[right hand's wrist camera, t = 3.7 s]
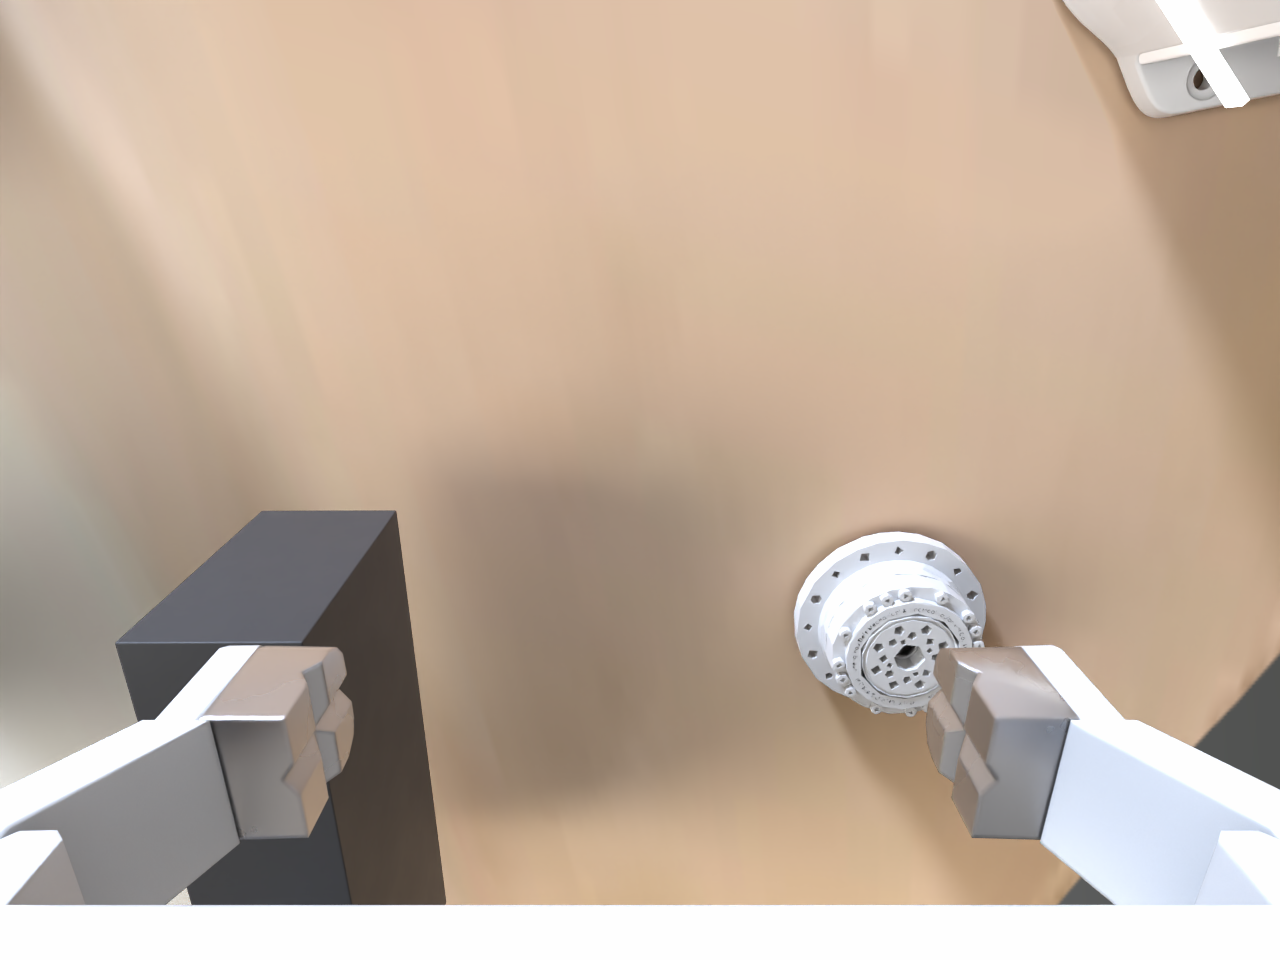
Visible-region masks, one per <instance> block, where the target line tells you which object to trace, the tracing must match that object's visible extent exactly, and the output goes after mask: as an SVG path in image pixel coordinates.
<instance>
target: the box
mask: <svg viewBox="0 0 1280 960" xmlns="http://www.w3.org/2000/svg"><path fill="white" fill-rule="evenodd" d="M115 645H116V648H117V652H118V655H119V658H120V662H121V665H122V669H123V672H124V675H125V679H126V682H127V686H128V689H129V692H130V696H131V699H132V703H133V706H134V709H135V713H136V716H137V720H138V722H140V721H142V720H155V719H156V718H157V717H158V716H159V715H160V714H161V713H162V711H163V710H164V709H165V708H166V707H167V706H168V705H169V704H170V703H171V701H172V700H173V699H174V698H175V697H176V696H177V695H178V694H179V693H180V691H181V690H182V689H183V688H184V687H185V686H186V685H187V684H188V683H189V681H190V680H191V679H192V678H193V677H194V676H195V675H196V674H197V673H198V671H199V670H200V669H201V668H202V667H203V666H204V665H205V664H206V663H207V661H208V660H209V659H210V658H211V657H212V656H213V655H214V654H215V653H216V651H217V650H218V649H219V648H222V647H226V646H238V645H260V646H308V647H337V648H338V649H339V650H340V651H341V652H342V653H343V657H344V662H345V666H346V671H347V675H346V677H345V679H344V680H343V682H342V684H341V686H340V687H339V689H340V690H341V691H342V692H343V693H344V694H345V695H346V696H347V697H348V698H349V699H350V700H351V701H352V707H353V714H354V736H353V740H352V745H351V749H350V754H349V757H348V759H347V761H346V764H345V766H344V768H343V770H342V772H341V773H340V774H338V775H337V776H335V777H334V778H332V779H331V780H329V781H328V782H327V783H326V785H327V791H328V796H329V798H328V800H327V802H326V804H325V806H324V808H323V810H322V812H321V814H320V816H319V818H318V820H317V822H316V824H315V826H314V828H313V830H312V831H311V833H310V835H309V837H308V838H281V839H246V840H239V841H240V844H238V845H237V846H236V847H235V848H234V849H232V850H231V851H230V852H229V853H227V854H226V855H225V856H224V857H223V858H221V859H220V860H219V861H218V862H217V863H215V864H214V865H213V866H212V867H211V868H209V869H208V870H207V871H206V872H204V873H203V874H202V875H201V876H200V877H198V878H197V879H196V880H195V881H194V882H192V883H191V884H190V885H189V886H188V887H187V890H188V893H189V897H190V900H191V904H192V905H445V904H446V897H445V889H444V881H443V873H442V865H441V858H440V850H439V842H438V834H437V826H436V818H435V811H434V803H433V795H432V787H431V779H430V771H429V763H428V756H427V748H426V740H425V732H424V724H423V716H422V709H421V701H420V693H419V685H418V677H417V669H416V662H415V654H414V646H413V638H412V630H411V622H410V615H409V607H408V599H407V591H406V583H405V575H404V568H403V560H402V552H401V544H400V536H399V528H398V521H397V513H396V511H261V512H260V513H259V514H258V515H257V516H256V517H255V518H254V519H253V520H251V521H250V522H249V523H248V524H247V525H246V526H245V527H244V528H243V529H241V530H240V531H239V532H238V533H237V534H236V535H235V536H234V537H232V538H231V539H230V540H229V541H228V542H227V543H226V544H225V545H224V546H222V547H221V548H220V549H219V550H218V551H217V552H216V553H215V554H214V555H212V556H211V557H210V558H209V559H208V560H207V561H206V562H205V563H204V564H202V565H201V566H200V567H199V568H198V569H197V570H196V571H195V572H194V573H192V574H191V575H190V576H189V577H188V578H187V579H186V580H185V581H184V582H182V583H181V584H180V585H179V586H178V587H177V588H176V589H175V590H174V591H172V592H171V593H170V594H169V595H168V596H167V597H166V598H165V599H164V600H162V601H161V602H160V603H159V604H158V605H157V606H156V607H155V608H154V609H152V610H151V611H150V612H149V613H148V614H147V615H146V616H145V617H143V618H142V619H141V620H140V621H139V622H138V623H137V624H136V625H135V626H133V627H132V628H131V629H130V630H129V631H128V632H127V633H126V634H125V635H123V636H122V637H121V638H120V639H119V640H118V641H117V642H116V643H115Z"/></svg>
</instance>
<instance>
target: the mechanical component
mask: <svg viewBox="0 0 1280 960" xmlns="http://www.w3.org/2000/svg"><path fill="white" fill-rule="evenodd" d="M985 622H986V603H985V599H984V596H983V592H982V588H981V584H980V583H979V581H978V580H977V579H976V577H975V576H974V574H973V573H972V571H971V570H970V569H969V567H968V566H967V564H966V563H965V562H964V561H963V560H962V559H961V557H960V556H959V555H957V554H956V553H955V552H954V551H952V550H951V549H950V548H948V547H947V546H946V545H944V544H943V543H941V542H939V541H936V540H933V539H931V538H928V537H925V536H923V535H920V534H913V533H905V532H886V533H877V534H873V535H869V536H865V537H861V538H859V539H857V540H855V541H853V542H851V543H848V544H846V545H844V546H842V547H840V548H838V549H836V550H835V551H834V552H833V553H831V554H830V555H829V556H828V557H826V558H825V559H824V560H823V561H822V562H820V563H819V564H818V565H817V566H816V568H815V569H814V570H813V571H812V573H811V574H810V575H809V576H808V578H807V579H806V581H805V583H804V585H803V587H802V589H801V591H800V593H799V595H798V598H797V602H796V607H795V611H794V624H795V638H796V641H797V644H798V647H799V650H800V652H801V655H802V658H803V659H804V661H805V662H806V664H807V665H808V667H809V668H810V670H811V671H812V673H813V674H814V676H815V677H816V678H817V679H818V680H819V681H821V682H822V683H823V684H825V685H826V686H827V687H829V688H830V689H832V690H833V691H835V692H837V693H840V694H842V695H844V696H846V697H849V698H851V699H852V700H853V701H855V702H857V703H858V704H860V705H862V706H864V707H867V708H870V710H871V712H873V713H874V714H879V713H880V712H885V713H888V714H892V713H905V714H906V716H909V717H912V716H914V715H916V712H917V711H920V710H923V711H924V712H927V708H928V701H929V700H930V699H931V698H932V697H933V696H934V695H935V694H936V693H937V692H938V691H939V690H940V689H941V687H940V686H939V684H938V682H937V680H936V679H935V677H934V675H933V671H934V665H935V660H936V657H937V655H938V653H939V651H940V649H941V648H976V647H985V646H984V643H983V641H982V634H983V630H984V626H985Z"/></svg>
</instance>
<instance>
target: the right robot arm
mask: <svg viewBox="0 0 1280 960" xmlns="http://www.w3.org/2000/svg"><path fill="white" fill-rule="evenodd" d="M1063 2H1064V3H1065V5H1066V6H1067V7H1068V9H1069V10H1070V11H1071V12H1072V14H1073V15H1074V16H1075V17H1076V18H1077V19H1078V20H1079V21H1080V22H1081V23H1082V24H1083V25H1084V26H1085V27H1086V28H1087V29H1088V30H1089V31H1091V32H1092V33H1093V34H1094V35H1095V36H1096V37H1097V38H1099V39H1100V40H1101V41H1102V42H1103V43H1104V44H1105V45H1106V46H1107V47H1108V48H1109V49H1110V50H1111V52H1112V53H1113V54H1114V56H1115V57H1116V58H1117V61H1118V64H1119V67H1120V69H1121V72H1122V75H1123V78H1124V80H1125V83H1126V86H1127V88H1128V90H1129V93H1130V95H1131V97H1132V99H1133V101H1134V102H1135V104H1136V106H1137V107H1138V108H1139V110H1140V111H1141V112H1142V113H1143V114H1145V115H1147V116H1149V117H1152V118H1165V117H1171V116H1175V115H1180V114H1185V113H1190V112H1195V111H1200V110H1205V109H1210V108H1215V107H1220V106H1225V108H1229V107H1238V106H1243V105H1244V104H1245V103H1246V102H1248V101H1249V100H1254V99H1259V98H1264V97H1268V96H1273V95H1278V94H1280V0H1063ZM1198 70H1200V71H1201V72H1202V74H1203V81H1202V84H1201V85H1200V87H1199V88H1198V89H1197V88H1196V87H1195V86H1194V82H1193V80H1194V76H1195V74H1196V72H1197V71H1198ZM346 675H347V671H346V666H345V662H344V657H343V653H342V652H341V651H340V650H339V649H338V648H337V647H308V646H260V645H238V646H226V647H222V648H219V649H218V650H217V651H216V653H215V654H214V655H213V656H212V657H211V658H210V659H209V660H208V661H207V663H206V664H205V665H204V666H203V667H202V668H201V669H200V670H199V671H198V673H197V674H196V675H195V676H194V677H193V678H192V679H191V680H190V681H189V683H188V684H187V685H186V686H185V687H184V688H183V689H182V690H181V691H180V693H179V694H178V695H177V696H176V697H175V698H174V699H173V700H172V701H171V703H170V704H169V705H168V706H167V707H166V708H165V709H164V710H163V711H162V713H161V714H160V715H159V716H158V717H157V718H156V719H155V720H142V721H140V722H138V723H136V724H134V725H132V726H130V727H128V728H126V729H123V730H121V731H119V732H117V733H115V734H113V735H111V736H109V737H107V738H105V739H103V740H101V741H99V742H97V743H95V744H93V745H91V746H89V747H87V748H85V749H83V750H80V751H78V752H76V753H74V754H72V755H70V756H68V757H66V758H64V759H62V760H60V761H58V762H56V763H54V764H52V765H50V766H48V767H46V768H44V769H42V770H40V771H37V772H35V773H33V774H31V775H29V776H27V777H25V778H23V779H21V780H19V781H17V782H15V783H13V784H11V785H9V786H7V787H5V788H3V789H1V790H0V960H1280V790H1279V789H1277V788H1275V787H1273V786H1271V785H1269V784H1267V783H1265V782H1263V781H1261V780H1259V779H1257V778H1254V777H1252V776H1250V775H1248V774H1246V773H1244V772H1242V771H1240V770H1238V769H1236V768H1234V767H1232V766H1230V765H1228V764H1226V763H1224V762H1222V761H1220V760H1218V759H1216V758H1214V757H1212V756H1210V755H1208V754H1205V753H1203V752H1201V751H1199V750H1197V749H1195V748H1193V747H1191V746H1189V745H1187V744H1185V743H1183V742H1181V741H1179V740H1177V739H1175V738H1173V737H1171V736H1169V735H1167V734H1165V733H1163V732H1161V731H1159V730H1156V729H1154V728H1152V727H1150V726H1148V725H1146V724H1144V723H1142V722H1140V721H1138V720H1125V719H1124V718H1123V717H1122V716H1121V715H1120V714H1119V713H1118V712H1117V710H1116V709H1115V708H1114V707H1113V706H1112V705H1111V704H1110V703H1109V702H1108V700H1107V699H1106V698H1105V697H1104V696H1103V695H1102V694H1101V693H1100V691H1099V690H1098V689H1097V688H1096V687H1095V686H1094V685H1093V684H1092V683H1091V681H1090V680H1089V679H1088V678H1087V677H1086V676H1085V675H1084V674H1083V673H1082V671H1081V670H1080V669H1079V668H1078V667H1077V666H1076V665H1075V664H1074V663H1073V661H1072V660H1071V659H1070V658H1069V657H1068V656H1067V655H1066V654H1065V653H1064V651H1063V650H1062V649H1060V648H1058V647H1056V646H1053V645H1035V646H1015V647H976V648H941V649H940V651H939V653H938V655H937V657H936V660H935V665H934V671H933V675H934V677H935V679H936V680H937V682H938V684H939V686H940V687H941V689H940V690H939V691H938V692H937V693H936V694H935V695H934V696H933V697H932V698H931V699H930V700H929V701H928V708H927V716H926V732H927V743H928V746H929V750H930V753H931V757H932V759H933V762H934V764H935V766H936V768H937V770H938V772H939V773H940V774H942V775H943V776H945V777H946V778H948V779H949V780H951V781H952V782H953V783H954V785H953V791H952V796H951V798H952V800H953V802H954V804H955V806H956V808H957V810H958V812H959V814H960V816H961V818H962V820H963V822H964V823H965V825H966V827H967V829H968V831H969V833H970V835H971V837H972V838H998V839H1033V840H1041V841H1040V843H1041V844H1042V845H1043V846H1044V847H1046V848H1047V849H1048V850H1049V851H1050V852H1052V853H1053V854H1054V855H1055V856H1056V857H1058V858H1059V859H1060V860H1061V861H1063V862H1064V863H1065V864H1066V865H1067V866H1069V867H1070V868H1071V869H1072V870H1073V871H1075V872H1076V873H1077V874H1078V875H1079V876H1081V877H1082V878H1083V879H1084V880H1086V881H1087V882H1088V883H1089V884H1090V885H1091V886H1093V887H1094V888H1095V889H1096V890H1098V891H1099V892H1100V893H1101V894H1102V895H1104V896H1105V897H1106V898H1107V899H1108V900H1110V901H1111V902H1112V903H1113V904H1114V905H166V904H167V903H168V902H169V901H171V900H172V899H173V898H174V897H175V896H177V895H178V894H179V893H180V892H182V891H183V890H184V889H185V888H186V887H188V886H189V885H190V884H191V883H192V882H194V881H195V880H196V879H197V878H198V877H200V876H201V875H202V874H203V873H204V872H206V871H207V870H208V869H209V868H211V867H212V866H213V865H214V864H215V863H217V862H218V861H219V860H220V859H221V858H223V857H224V856H225V855H226V854H227V853H229V852H230V851H231V850H232V849H234V848H235V847H236V846H237V845H238V844H240V841H239V840H246V839H281V838H308V837H309V835H310V833H311V831H312V830H313V828H314V826H315V824H316V822H317V820H318V818H319V816H320V814H321V812H322V810H323V808H324V806H325V804H326V802H327V800H328V798H329V796H328V791H327V785H326V783H327V782H328V781H329V780H331V779H332V778H334V777H335V776H337V775H338V774H340V773H341V772H342V770H343V768H344V766H345V764H346V761H347V759H348V757H349V754H350V749H351V745H352V740H353V736H354V714H353V707H352V701H351V700H350V699H349V698H348V697H347V696H346V695H345V694H344V693H343V692H342V691H341V690H340V689H339V687H340V686H341V684H342V682H343V680H344V679H345V677H346Z"/></svg>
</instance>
